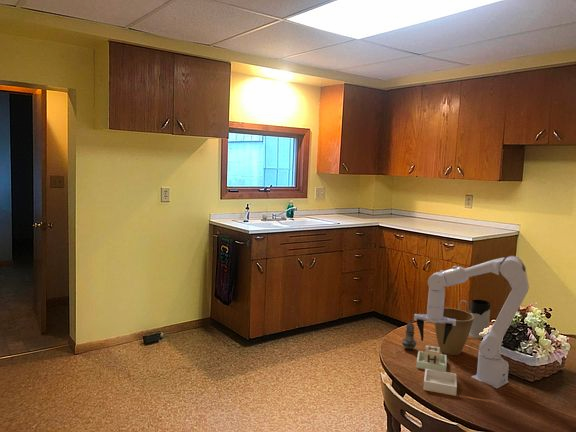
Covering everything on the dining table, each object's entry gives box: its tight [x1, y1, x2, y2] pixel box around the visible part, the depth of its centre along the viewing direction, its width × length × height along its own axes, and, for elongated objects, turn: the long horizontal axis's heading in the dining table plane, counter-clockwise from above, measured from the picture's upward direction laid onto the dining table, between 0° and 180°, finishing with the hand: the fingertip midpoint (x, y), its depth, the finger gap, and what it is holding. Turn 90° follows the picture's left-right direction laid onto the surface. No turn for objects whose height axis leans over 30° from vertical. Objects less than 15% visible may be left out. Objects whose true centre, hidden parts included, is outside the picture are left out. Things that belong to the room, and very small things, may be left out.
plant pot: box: [433, 307, 474, 356], centre depth 183 cm, size 15×15×16 cm
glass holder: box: [458, 299, 491, 340], centre depth 206 cm, size 9×14×15 cm, turn 42°
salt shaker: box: [401, 320, 418, 351], centre depth 185 cm, size 6×6×12 cm
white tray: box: [423, 369, 458, 397], centre depth 156 cm, size 10×10×3 cm
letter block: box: [424, 345, 441, 364], centre depth 171 cm, size 5×5×6 cm
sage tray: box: [415, 350, 448, 372], centre depth 171 cm, size 10×10×3 cm
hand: (433, 341), depth 170 cm, fingers open, 7 cm apart
